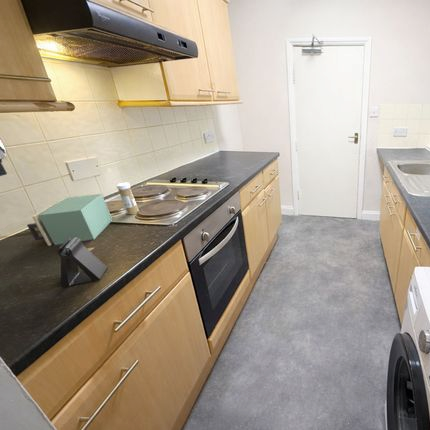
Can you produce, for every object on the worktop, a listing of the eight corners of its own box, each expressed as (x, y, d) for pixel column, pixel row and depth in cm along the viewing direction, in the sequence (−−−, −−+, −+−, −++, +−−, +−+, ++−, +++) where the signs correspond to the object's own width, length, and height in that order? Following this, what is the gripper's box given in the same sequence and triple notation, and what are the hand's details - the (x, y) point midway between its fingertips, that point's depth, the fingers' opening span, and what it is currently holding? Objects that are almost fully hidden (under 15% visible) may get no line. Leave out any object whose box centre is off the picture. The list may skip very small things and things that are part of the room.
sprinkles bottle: (141, 211, 119) (131, 182, 113) (132, 215, 115) (121, 186, 109) (134, 210, 120) (123, 181, 114) (124, 214, 116) (113, 185, 110)
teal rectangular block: (54, 245, 94) (38, 215, 88) (78, 224, 108) (66, 197, 103) (94, 239, 97) (80, 210, 91) (112, 220, 111) (101, 193, 106)
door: (35, 247, 92) (18, 217, 87) (65, 225, 107) (52, 199, 102) (50, 245, 93) (34, 216, 88) (77, 224, 108) (65, 198, 103)
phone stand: (108, 268, 80) (92, 233, 75) (100, 280, 75) (82, 244, 70) (72, 275, 78) (53, 240, 72) (61, 288, 72) (40, 251, 67)
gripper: (-69, 122, 82) (-33, 179, 90) (-25, 121, 81) (7, 178, 89) (-38, 119, 88) (-7, 172, 96) (3, 118, 88) (31, 172, 96)
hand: (0, 175), depth 93 cm, fingers closed
